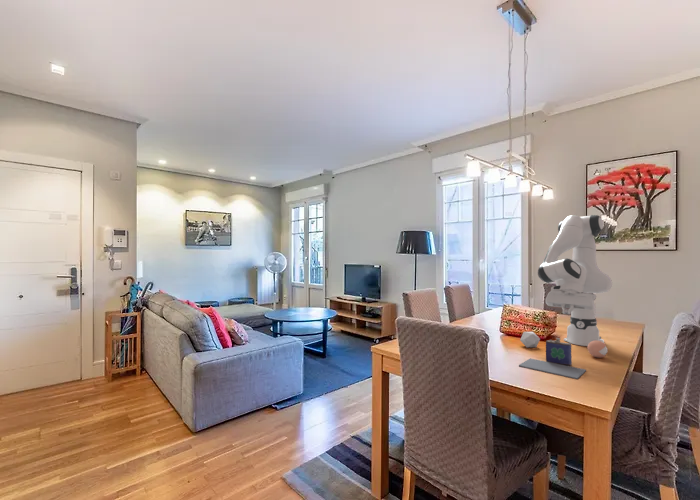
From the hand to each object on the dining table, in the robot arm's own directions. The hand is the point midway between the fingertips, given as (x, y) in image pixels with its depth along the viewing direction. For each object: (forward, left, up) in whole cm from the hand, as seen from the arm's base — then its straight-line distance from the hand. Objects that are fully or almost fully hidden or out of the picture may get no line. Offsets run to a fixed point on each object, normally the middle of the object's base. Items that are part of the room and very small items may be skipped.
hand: (566, 313), depth 164 cm
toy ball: (-8, +11, -21) cm, 25 cm away
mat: (+25, +1, -21) cm, 32 cm away
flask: (+16, +1, -21) cm, 26 cm away
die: (-5, -18, -21) cm, 28 cm away
